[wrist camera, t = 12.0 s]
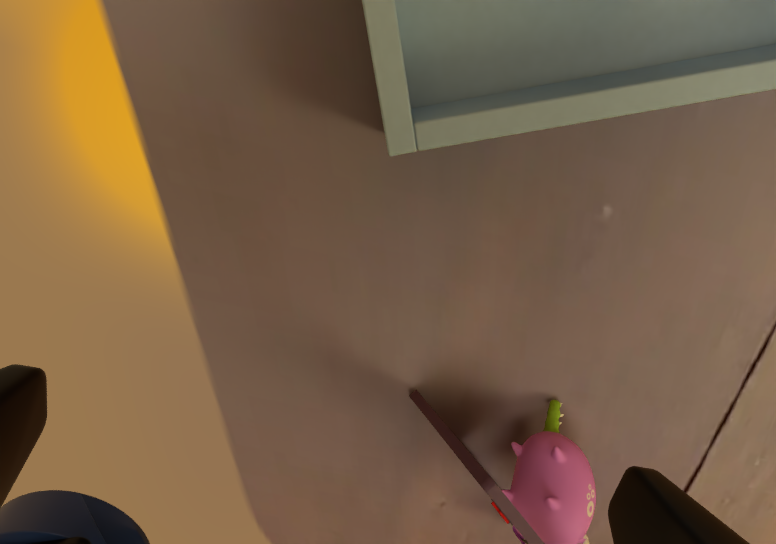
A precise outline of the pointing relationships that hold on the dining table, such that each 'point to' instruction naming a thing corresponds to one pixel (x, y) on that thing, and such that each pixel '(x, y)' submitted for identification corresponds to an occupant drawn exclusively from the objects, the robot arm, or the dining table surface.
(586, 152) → the dining table surface
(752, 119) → the dining table surface
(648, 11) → the gray tray
